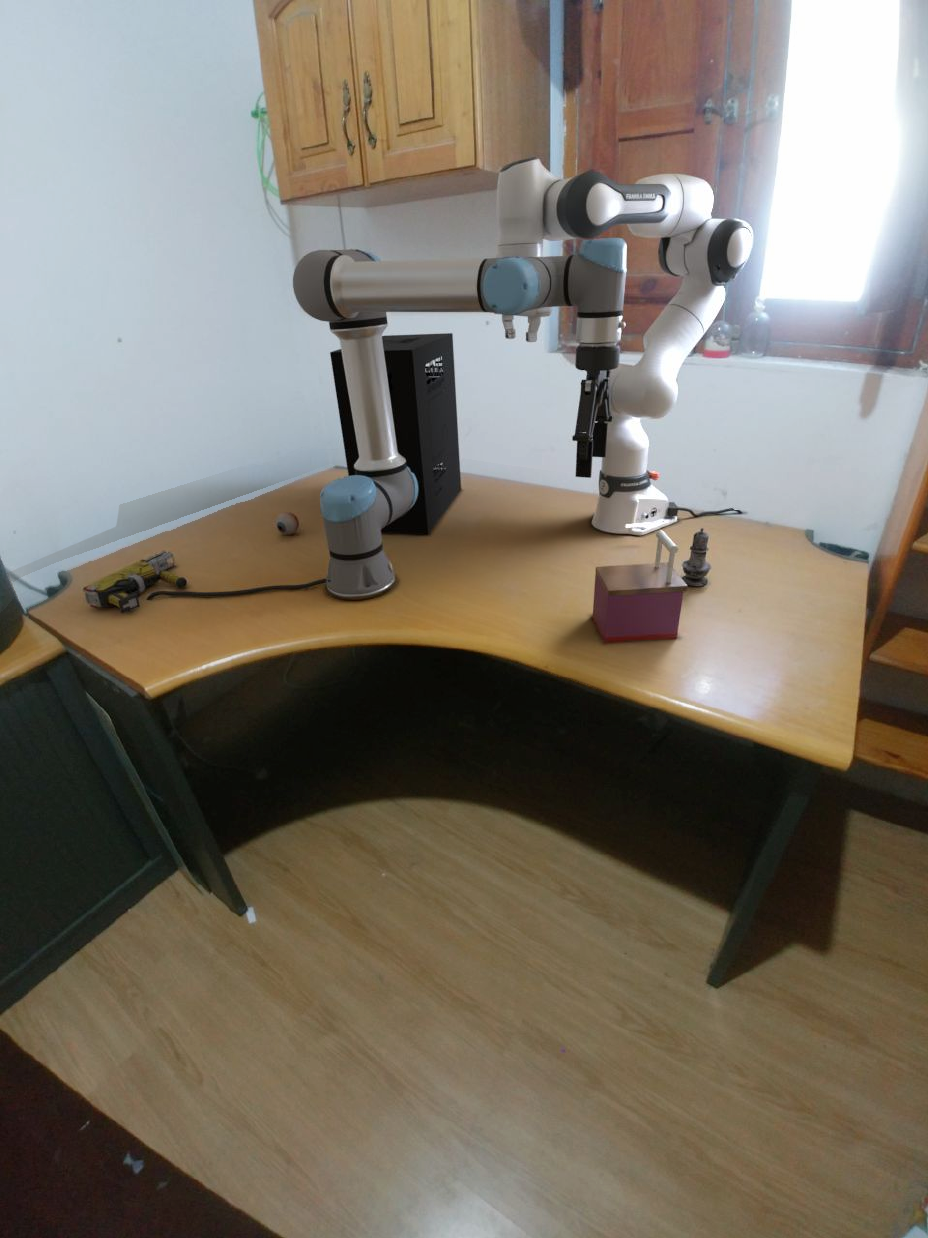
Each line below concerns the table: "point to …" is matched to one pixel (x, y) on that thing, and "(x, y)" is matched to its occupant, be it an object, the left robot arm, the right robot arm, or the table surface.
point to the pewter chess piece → (697, 561)
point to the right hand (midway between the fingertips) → (520, 340)
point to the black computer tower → (415, 422)
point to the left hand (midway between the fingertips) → (591, 466)
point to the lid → (644, 574)
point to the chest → (636, 615)
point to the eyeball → (287, 523)
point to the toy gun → (131, 583)
